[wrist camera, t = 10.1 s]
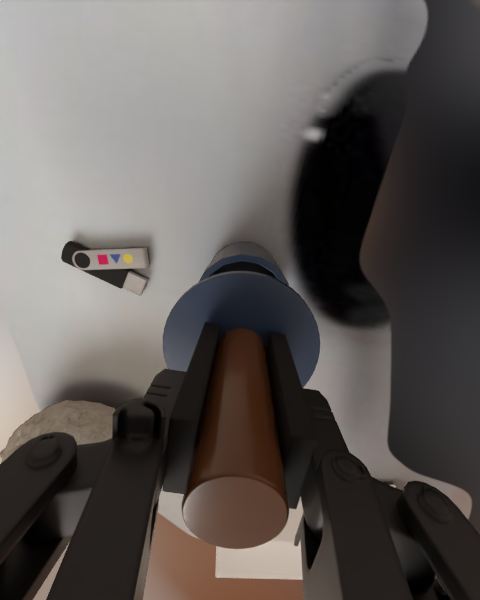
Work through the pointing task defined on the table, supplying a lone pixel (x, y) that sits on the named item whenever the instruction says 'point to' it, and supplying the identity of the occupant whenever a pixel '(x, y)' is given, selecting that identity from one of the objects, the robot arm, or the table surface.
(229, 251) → the tin
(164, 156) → the table surface
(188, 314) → the lid
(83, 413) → the decorative shell
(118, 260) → the usb flash drive
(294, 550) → the z bracket
